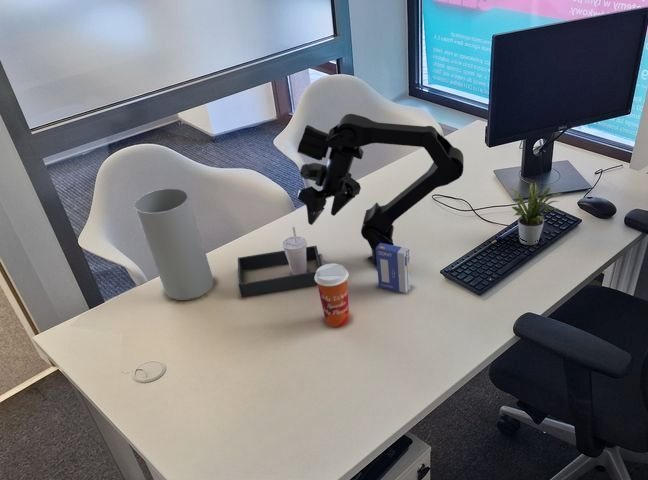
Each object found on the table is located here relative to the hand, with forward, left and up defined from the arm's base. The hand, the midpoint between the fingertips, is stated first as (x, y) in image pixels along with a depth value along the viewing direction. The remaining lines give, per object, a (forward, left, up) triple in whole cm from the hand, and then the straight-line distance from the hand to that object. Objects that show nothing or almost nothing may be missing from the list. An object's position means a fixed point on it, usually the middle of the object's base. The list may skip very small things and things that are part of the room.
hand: (321, 219), depth 160 cm
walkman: (-22, -7, -13) cm, 26 cm away
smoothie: (-1, +9, -13) cm, 16 cm away
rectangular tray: (+1, +14, -13) cm, 19 cm away
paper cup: (-25, +11, -13) cm, 30 cm away
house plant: (-28, -50, -13) cm, 59 cm away
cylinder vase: (+11, +35, -13) cm, 39 cm away
